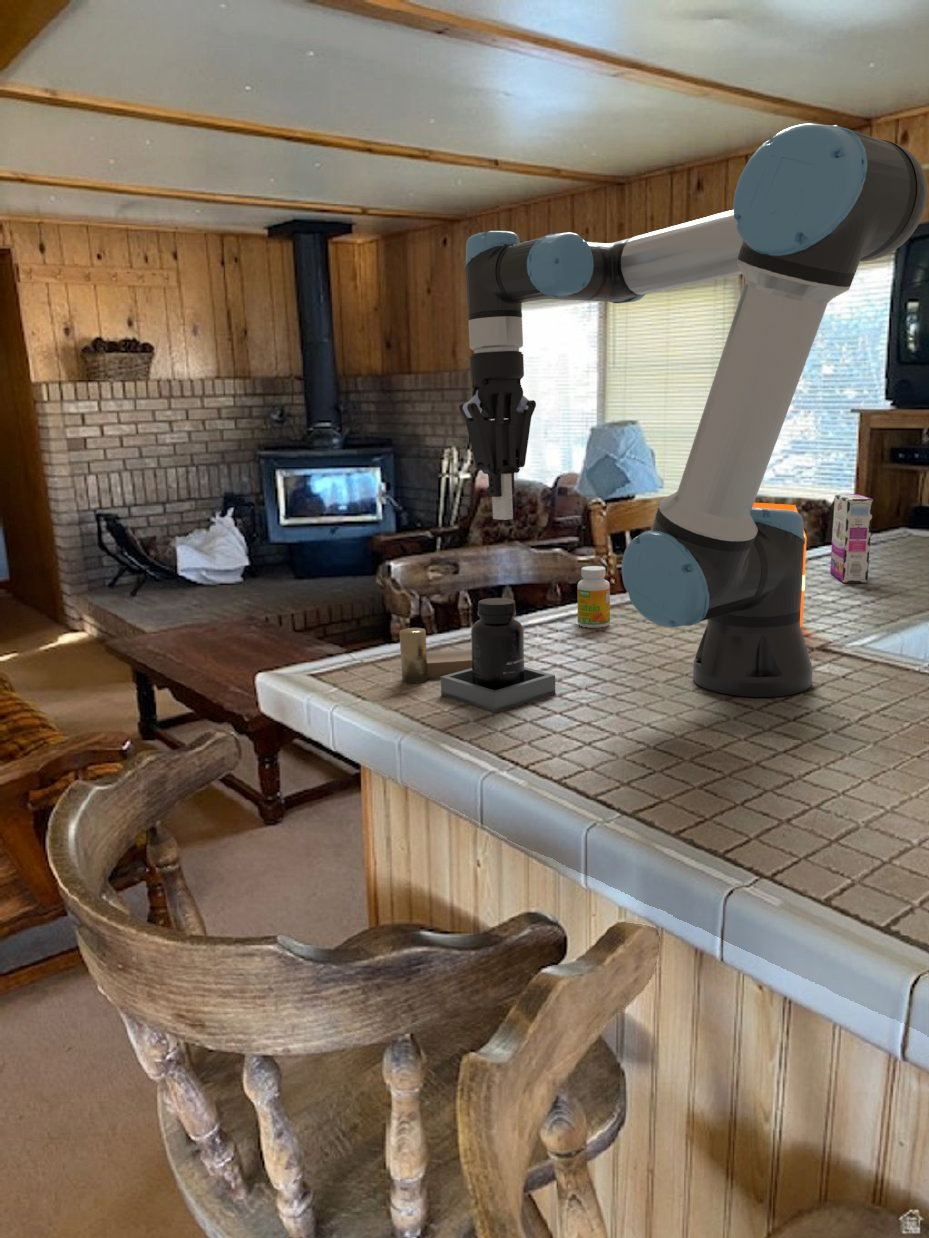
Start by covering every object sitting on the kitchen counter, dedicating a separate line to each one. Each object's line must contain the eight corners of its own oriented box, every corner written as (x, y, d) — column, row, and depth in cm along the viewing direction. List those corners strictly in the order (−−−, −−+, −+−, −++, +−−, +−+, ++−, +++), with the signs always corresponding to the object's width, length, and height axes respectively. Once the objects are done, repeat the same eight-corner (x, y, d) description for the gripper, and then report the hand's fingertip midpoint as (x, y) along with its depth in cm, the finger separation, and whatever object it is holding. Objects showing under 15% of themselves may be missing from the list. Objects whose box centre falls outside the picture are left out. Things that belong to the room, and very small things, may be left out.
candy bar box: (869, 583, 184) (874, 498, 180) (842, 584, 184) (847, 499, 181) (854, 573, 194) (859, 492, 191) (829, 573, 195) (833, 493, 191)
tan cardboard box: (490, 676, 134) (490, 659, 134) (427, 680, 133) (426, 663, 133) (485, 664, 140) (484, 648, 139) (424, 668, 139) (423, 652, 139)
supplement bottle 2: (573, 627, 158) (573, 570, 156) (582, 620, 163) (581, 564, 161) (605, 629, 156) (605, 571, 154) (613, 622, 161) (613, 565, 159)
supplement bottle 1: (521, 699, 120) (518, 607, 117) (468, 698, 122) (464, 606, 119) (528, 683, 127) (526, 595, 124) (478, 682, 128) (474, 595, 125)
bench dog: (433, 679, 132) (430, 630, 131) (412, 684, 130) (409, 635, 128) (417, 674, 135) (414, 626, 133) (397, 679, 133) (394, 631, 131)
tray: (555, 693, 124) (555, 675, 123) (495, 712, 117) (494, 693, 117) (500, 677, 132) (500, 660, 131) (441, 694, 125) (440, 676, 124)
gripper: (512, 353, 140) (517, 512, 145) (443, 353, 132) (452, 522, 137) (548, 349, 134) (552, 515, 139) (479, 349, 126) (486, 525, 131)
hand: (502, 518), depth 138 cm, fingers closed
